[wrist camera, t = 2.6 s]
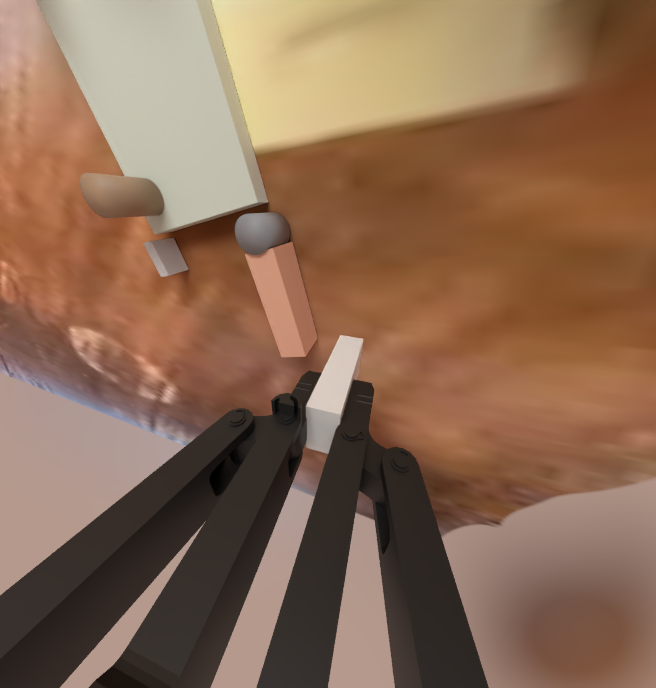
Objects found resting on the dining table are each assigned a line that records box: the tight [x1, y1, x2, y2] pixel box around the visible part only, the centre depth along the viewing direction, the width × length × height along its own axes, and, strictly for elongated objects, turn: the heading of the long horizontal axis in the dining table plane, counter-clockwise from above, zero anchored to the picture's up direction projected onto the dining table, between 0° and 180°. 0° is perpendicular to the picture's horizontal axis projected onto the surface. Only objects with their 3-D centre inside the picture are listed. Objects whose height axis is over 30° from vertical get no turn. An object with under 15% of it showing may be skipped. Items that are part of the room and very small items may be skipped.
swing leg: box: [235, 212, 318, 357], centre depth 20 cm, size 11×3×4 cm, turn 12°
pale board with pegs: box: [36, 0, 268, 277], centre depth 15 cm, size 22×12×6 cm, turn 12°
